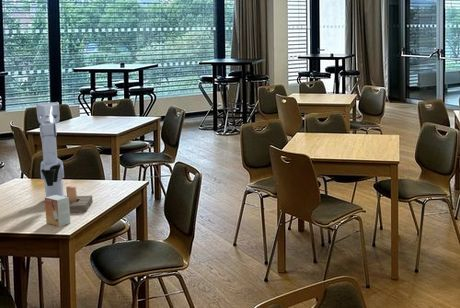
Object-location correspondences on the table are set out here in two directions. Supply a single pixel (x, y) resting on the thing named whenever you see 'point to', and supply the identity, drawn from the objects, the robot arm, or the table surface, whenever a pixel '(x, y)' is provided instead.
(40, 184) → the table surface
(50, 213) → the small box
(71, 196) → the peg
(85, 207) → the socket block
